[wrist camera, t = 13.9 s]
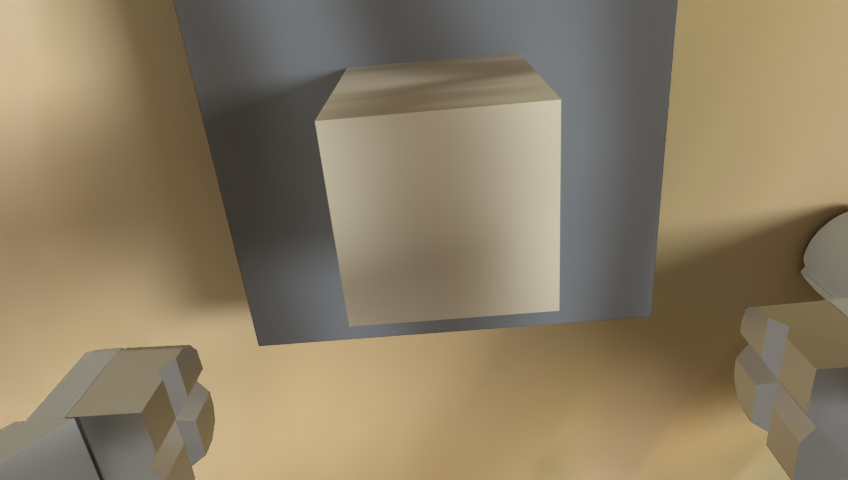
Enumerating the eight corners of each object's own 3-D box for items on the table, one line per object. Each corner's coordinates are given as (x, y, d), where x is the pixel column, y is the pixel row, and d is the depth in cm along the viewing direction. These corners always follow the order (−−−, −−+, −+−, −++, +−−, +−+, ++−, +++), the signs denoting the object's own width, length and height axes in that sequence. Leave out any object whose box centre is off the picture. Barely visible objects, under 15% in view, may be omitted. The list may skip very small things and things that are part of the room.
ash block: (518, 52, 18) (561, 99, 12) (522, 211, 20) (559, 310, 14) (347, 67, 18) (314, 121, 12) (368, 223, 20) (349, 326, 15)
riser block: (639, -131, 19) (690, -149, 16) (618, 263, 25) (650, 316, 22) (199, -87, 20) (150, -94, 16) (281, 289, 26) (258, 345, 22)
